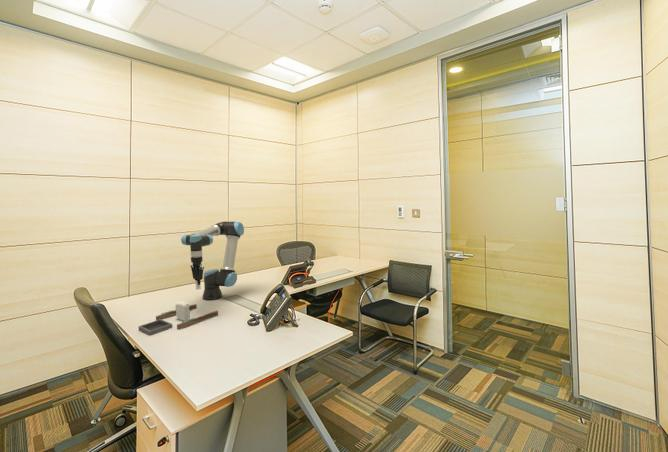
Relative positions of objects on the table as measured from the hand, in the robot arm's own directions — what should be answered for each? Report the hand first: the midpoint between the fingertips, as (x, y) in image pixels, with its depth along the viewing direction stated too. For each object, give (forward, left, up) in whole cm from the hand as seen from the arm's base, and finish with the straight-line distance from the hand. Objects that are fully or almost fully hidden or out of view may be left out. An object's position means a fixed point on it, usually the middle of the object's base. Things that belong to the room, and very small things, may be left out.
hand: (198, 289), depth 230 cm
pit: (0, -31, -18) cm, 36 cm away
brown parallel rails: (0, -9, -18) cm, 20 cm away
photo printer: (0, -12, -18) cm, 22 cm away
